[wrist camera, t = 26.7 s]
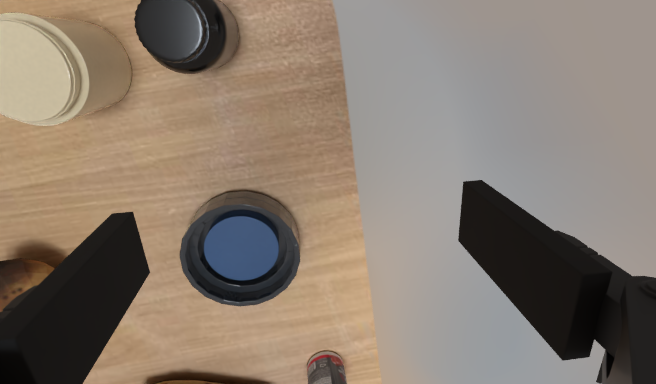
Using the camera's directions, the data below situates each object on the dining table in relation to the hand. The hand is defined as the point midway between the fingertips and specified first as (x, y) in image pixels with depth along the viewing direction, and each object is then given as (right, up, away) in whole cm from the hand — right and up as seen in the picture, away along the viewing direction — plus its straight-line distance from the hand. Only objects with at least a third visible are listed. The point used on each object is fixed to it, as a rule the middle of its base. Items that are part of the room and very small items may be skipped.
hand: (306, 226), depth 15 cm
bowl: (-9, -4, +31) cm, 33 cm away
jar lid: (-9, -5, +29) cm, 31 cm away
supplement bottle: (-12, +17, +22) cm, 31 cm away
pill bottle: (0, -24, +40) cm, 47 cm away
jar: (-23, +14, +22) cm, 35 cm away
